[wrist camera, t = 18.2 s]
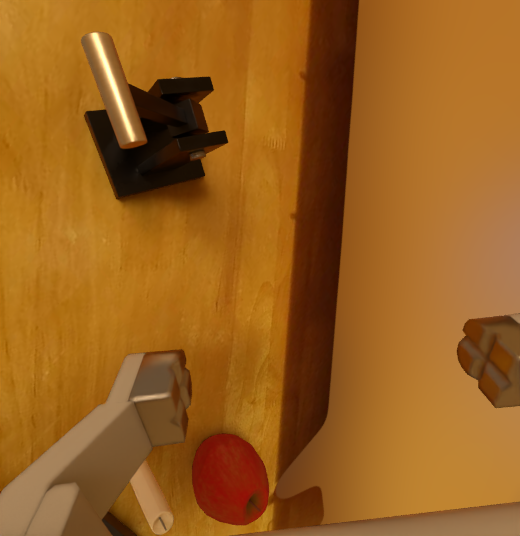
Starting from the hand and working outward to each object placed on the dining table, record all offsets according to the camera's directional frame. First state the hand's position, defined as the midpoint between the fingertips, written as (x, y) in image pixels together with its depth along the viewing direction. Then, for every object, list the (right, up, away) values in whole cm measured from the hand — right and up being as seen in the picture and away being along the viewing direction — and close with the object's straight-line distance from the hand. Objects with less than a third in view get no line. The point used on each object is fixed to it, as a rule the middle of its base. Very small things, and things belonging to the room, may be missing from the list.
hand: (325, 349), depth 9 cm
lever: (-10, +13, +12) cm, 20 cm away
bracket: (-14, +15, +24) cm, 32 cm away
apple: (-8, -22, +31) cm, 39 cm away
